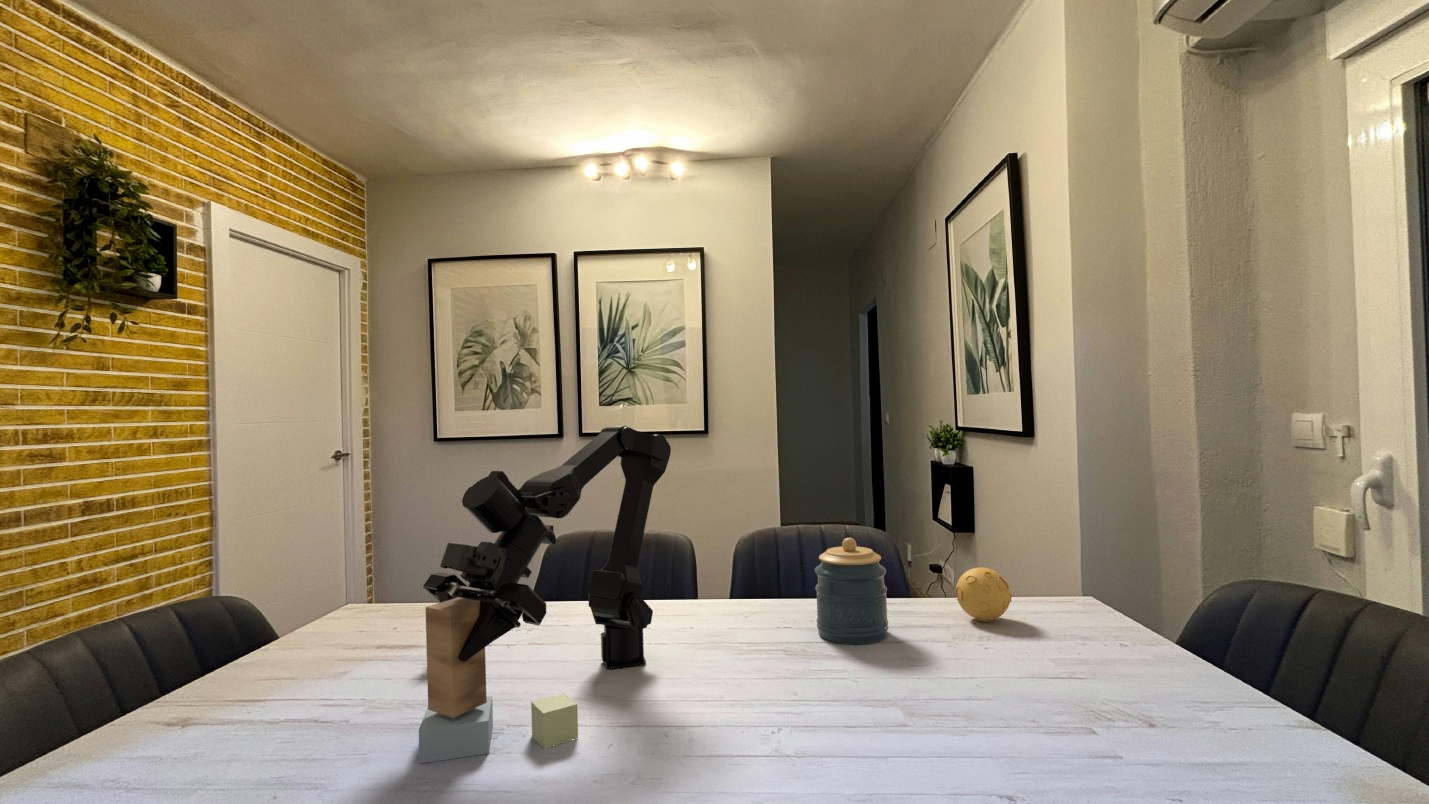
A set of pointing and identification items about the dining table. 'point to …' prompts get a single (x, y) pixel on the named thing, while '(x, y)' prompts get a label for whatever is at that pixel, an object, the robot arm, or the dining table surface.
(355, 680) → the dining table surface
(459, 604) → the walnut block
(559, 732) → the sage cube
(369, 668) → the dining table surface
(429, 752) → the base block
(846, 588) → the canister
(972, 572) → the stress ball
